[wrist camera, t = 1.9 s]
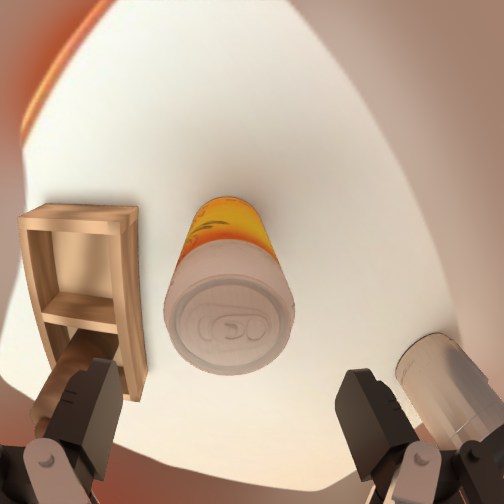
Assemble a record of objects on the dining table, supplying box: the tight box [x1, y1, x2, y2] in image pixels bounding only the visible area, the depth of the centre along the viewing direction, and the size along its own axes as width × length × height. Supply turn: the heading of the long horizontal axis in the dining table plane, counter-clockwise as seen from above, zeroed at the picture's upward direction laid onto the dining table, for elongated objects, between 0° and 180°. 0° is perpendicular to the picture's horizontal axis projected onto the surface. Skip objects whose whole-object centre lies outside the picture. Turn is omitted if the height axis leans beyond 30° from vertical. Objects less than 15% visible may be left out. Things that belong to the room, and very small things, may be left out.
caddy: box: [17, 204, 148, 439], centre depth 20 cm, size 10×19×16 cm, turn 174°
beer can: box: [163, 197, 295, 376], centre depth 20 cm, size 6×6×15 cm
